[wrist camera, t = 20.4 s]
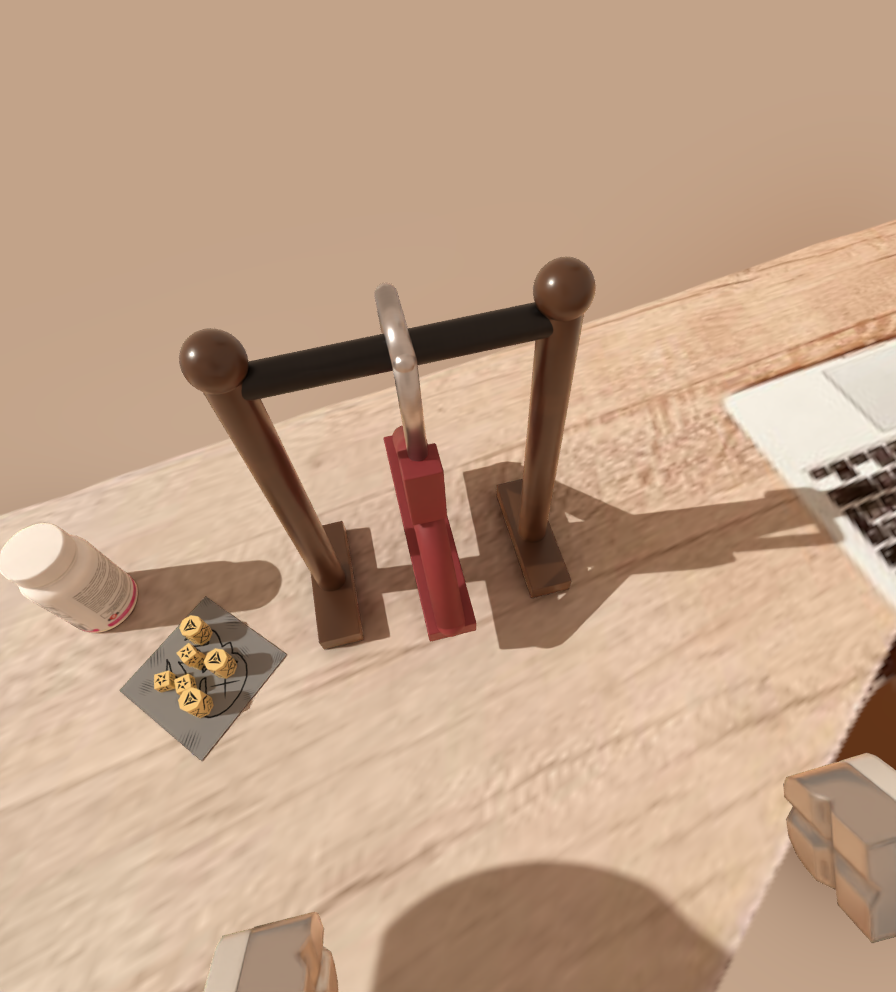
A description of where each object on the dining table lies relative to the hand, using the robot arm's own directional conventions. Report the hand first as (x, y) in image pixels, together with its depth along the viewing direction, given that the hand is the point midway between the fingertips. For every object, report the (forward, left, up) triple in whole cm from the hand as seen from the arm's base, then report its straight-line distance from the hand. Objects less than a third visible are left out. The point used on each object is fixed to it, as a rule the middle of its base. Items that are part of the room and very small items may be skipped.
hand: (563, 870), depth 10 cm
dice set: (-17, +16, -27) cm, 36 cm away
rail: (0, +20, -27) cm, 33 cm away
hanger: (0, +20, -23) cm, 31 cm away
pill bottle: (-24, +23, -27) cm, 43 cm away
